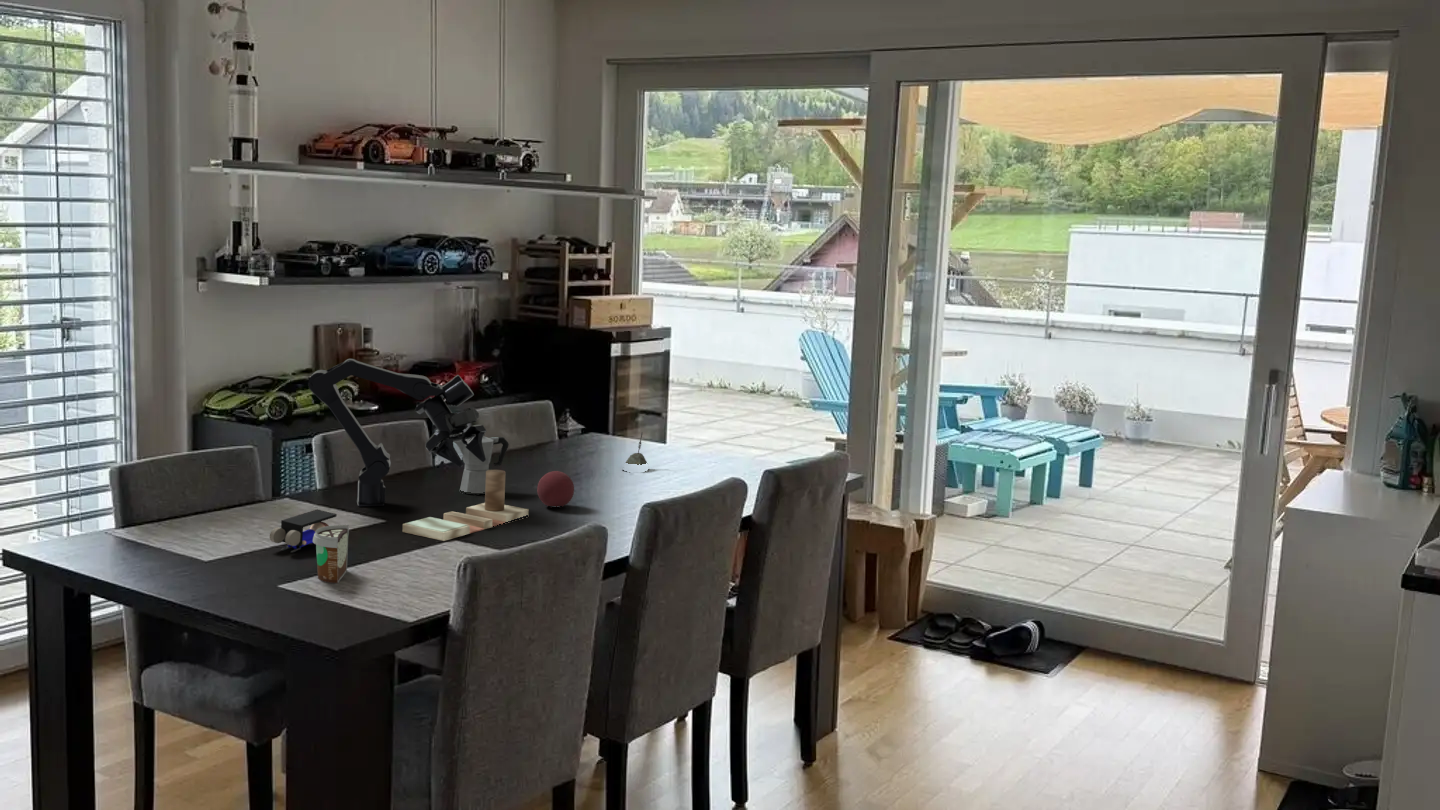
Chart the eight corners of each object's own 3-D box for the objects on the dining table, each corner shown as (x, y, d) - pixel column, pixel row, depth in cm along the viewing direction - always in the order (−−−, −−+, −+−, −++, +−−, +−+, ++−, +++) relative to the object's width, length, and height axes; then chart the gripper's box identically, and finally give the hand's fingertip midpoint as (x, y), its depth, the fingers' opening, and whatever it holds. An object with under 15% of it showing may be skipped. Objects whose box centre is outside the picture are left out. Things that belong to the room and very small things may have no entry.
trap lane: (488, 509, 341) (489, 501, 340) (528, 516, 335) (528, 508, 334) (402, 532, 312) (402, 523, 311) (443, 540, 306) (444, 532, 305)
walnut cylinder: (486, 511, 329) (487, 473, 328) (483, 507, 334) (484, 469, 332) (505, 511, 331) (507, 473, 329) (502, 506, 335) (503, 469, 334)
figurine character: (292, 562, 286) (339, 541, 299) (290, 529, 284) (337, 510, 297) (269, 557, 288) (317, 536, 302) (267, 525, 287) (314, 506, 300)
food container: (319, 568, 277) (320, 523, 276) (348, 569, 278) (349, 524, 276) (305, 584, 265) (306, 537, 264) (336, 585, 266) (337, 538, 264)
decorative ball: (558, 501, 354) (559, 466, 353) (580, 509, 347) (582, 472, 346) (529, 505, 347) (530, 469, 346) (551, 513, 340) (552, 476, 339)
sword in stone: (640, 474, 399) (642, 437, 398) (618, 471, 402) (620, 434, 401) (654, 469, 409) (655, 433, 407) (632, 466, 411) (633, 430, 410)
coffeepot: (456, 496, 354) (457, 432, 351) (449, 488, 362) (451, 426, 360) (510, 494, 360) (513, 431, 357) (502, 487, 368) (505, 426, 366)
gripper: (435, 401, 326) (468, 449, 322) (481, 394, 342) (513, 440, 339) (411, 427, 331) (443, 475, 327) (458, 420, 347) (489, 465, 344)
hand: (473, 463), depth 334 cm, fingers open, 9 cm apart
